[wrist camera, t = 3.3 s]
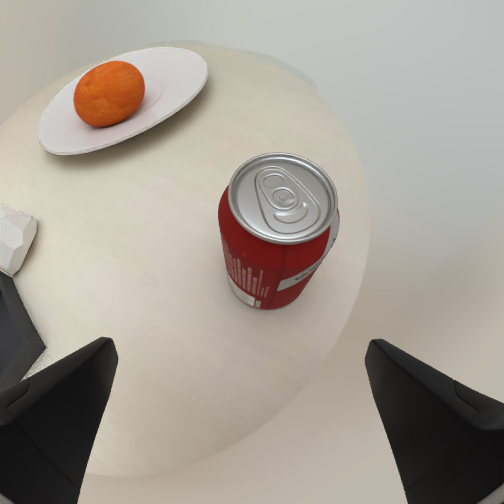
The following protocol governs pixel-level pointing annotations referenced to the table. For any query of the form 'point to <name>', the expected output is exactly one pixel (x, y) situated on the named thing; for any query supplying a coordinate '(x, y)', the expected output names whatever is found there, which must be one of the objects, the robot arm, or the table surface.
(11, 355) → the dark grey square tray
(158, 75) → the plate
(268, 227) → the soda can
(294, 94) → the table surface
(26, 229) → the crystal
